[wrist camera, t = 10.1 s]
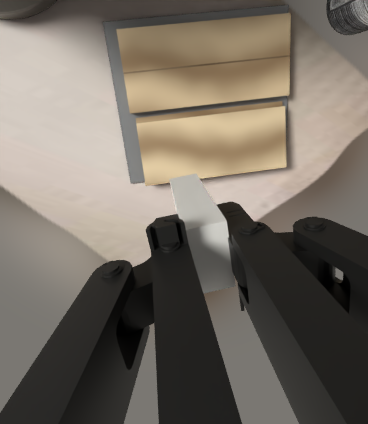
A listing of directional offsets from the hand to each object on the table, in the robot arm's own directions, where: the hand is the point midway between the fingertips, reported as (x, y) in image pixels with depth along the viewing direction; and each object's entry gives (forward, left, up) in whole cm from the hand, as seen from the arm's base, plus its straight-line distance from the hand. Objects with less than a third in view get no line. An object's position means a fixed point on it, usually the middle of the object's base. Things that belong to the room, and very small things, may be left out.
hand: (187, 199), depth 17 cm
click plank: (0, +6, -20) cm, 21 cm away
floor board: (-8, +6, -21) cm, 23 cm away
